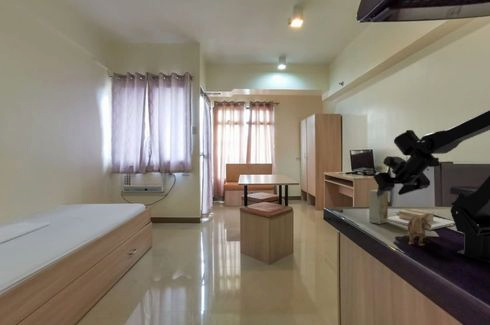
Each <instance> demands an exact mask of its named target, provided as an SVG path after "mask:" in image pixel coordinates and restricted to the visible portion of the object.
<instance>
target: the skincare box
mask: <svg viewBox="0 0 490 325" xmlns="http://www.w3.org/2000/svg"><path fill="white" fill-rule="evenodd" d="M377 190H378V189H371V190H369V196H368V197H369V200H368V201H369V202H368V204H369V205H368V210H369V211H368V213H369V214H368V221H369V223H373V224H379V225H381V224H384V223H388V217H389V216H388V212H389V209H388V208H389V206H388V205H389V192H387V193H385V194H383V195H381V196H377Z"/></svg>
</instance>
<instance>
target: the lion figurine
mask: <svg viewBox="0 0 490 325" xmlns="http://www.w3.org/2000/svg"><path fill="white" fill-rule="evenodd" d="M429 228H431V225H430V224H428V223H427V221H425V217H423V216H420V215H418V216H415V217H413V218H412V219H411V220H410V222H409V223H408V225H407V229H408V236H409V241H408V245H411V244H413V245H414V243H415V242H414V239H415V236H416V237H419V238H418V244H419V246H425V243H423V242H424V239H426V238H427V236H426V232H429V231H430V230H429Z"/></svg>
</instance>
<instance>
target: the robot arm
mask: <svg viewBox="0 0 490 325" xmlns="http://www.w3.org/2000/svg"><path fill="white" fill-rule="evenodd" d="M488 131H490V109H488V110H487V111H484V112H482V113H480V114H478V115H476V116H474V117H472V118H469V119H467V120H466V121H464V122H461V123H458V124H457V125H455V126H452V127H450V128H449V129H448V128H447V129H444V130H440V131H434V132H431V133H430V132H429V133H428V134H425V135H423V136H422V137H421V138H419V137H418V135H416V133H415V131H414V130H412V129H408V130H406V131H405V132H402V133H401V134H399V135H398V136H396V137H395V138H394V139H393V143H394V145H395V146H396V148H398V150H399V151H400V152H401V154H402V155H404V156H409V158H408V159H406V160H405V159H404V158H402V157H401V156H391V155H389V156H386V157H385V158H383V165H385V166H386V167H387V168H390V169H391V172H392V174H394V177H391V175H390V173H389V172H384V171H382V172H376V173H375V174H374V175H373V179H374V181H375V183H376V184H377V185H378V186H377V189H376V190H377V196H381V195H383V194H385V193H387V192H388V193H389V192H391V191H392V190H393V189H394V188H395V186H396V185H402V186H401V187H400V189H399V191H398V192H397V194H398V195H399V196H402V195H406V194H408V193H411V192H415V191H420V190H423V189H427V188H428V187H429V186H430V185H431V180H430V179H429V178H428V177H427V175H426V174H425V173H424V172H425V170H427V169H428V167H429V168H431V167H432V168H438V167H440V166H441V164H440V161H439V160H440V158H439V157H435V156H434V155H435V154H436V155H437V154H438V155H441V154H442V155H443V154H447V153H449V152H451V151H452V150H454V149H456V148H457V147H458V146H459V145H460V144H462V143H463V142H464V141H466V140H469V139H471V138H473V137H474V138H475V137H476V136H479V135H482V134H484V133H486V132H488ZM450 205H452V206H451V208H450V211H449V212H450V214H451V217H452V219H453V220H452V221H454V223H455V229H456V231H457V232H460V233H462V234H464V235H463V236H464V237H463V238H464V239H463V250H458V251H457V254H458V255H461V256H464V257H468V258H470V259H474V260H478V261H481V262H483V263H490V174H489V175H488V176H487V177H486V178H485V179H484V180H483V182H482V183H481V184H480V185H479V187H478V188H477V189H475V191H473V192H471V191H470V192H461V193H459V194H458V196H457V198H456V200H455V201H453V202H451V203H450Z"/></svg>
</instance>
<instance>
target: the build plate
mask: <svg viewBox="0 0 490 325" xmlns="http://www.w3.org/2000/svg"><path fill="white" fill-rule="evenodd" d="M388 221H389V222H393V223H396V224H400V225H405V226H408V223H409V222H410V221H408V220H404V219H400V218H399V215H395V216H388ZM427 223H428V224H430V225H431V228H429V230H428V231H432V230H437V229H443V228H445V226H446V227H449V226H448V225H451V224H455V223H454V220H451V219H445V218H440V217H436V216H433V221H429V222H427ZM451 226H452V225H451Z"/></svg>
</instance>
